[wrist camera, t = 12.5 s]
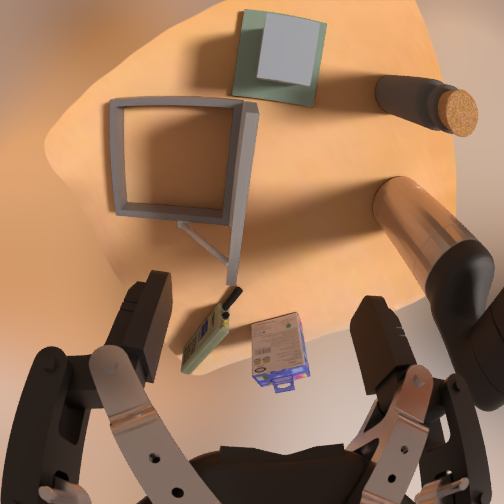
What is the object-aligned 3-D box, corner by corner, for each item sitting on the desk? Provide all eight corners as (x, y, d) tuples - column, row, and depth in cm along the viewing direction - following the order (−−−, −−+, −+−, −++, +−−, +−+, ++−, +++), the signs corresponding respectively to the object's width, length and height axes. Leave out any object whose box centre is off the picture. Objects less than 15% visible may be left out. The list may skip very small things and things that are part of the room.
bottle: (403, 120, 30) (471, 152, 18) (369, 105, 30) (433, 127, 17) (414, 86, 27) (487, 103, 15) (380, 68, 26) (450, 72, 14)
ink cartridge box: (259, 338, 57) (260, 398, 45) (249, 323, 54) (249, 387, 42) (303, 327, 55) (313, 388, 43) (297, 311, 52) (307, 375, 40)
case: (118, 97, 29) (52, 116, 17) (255, 101, 30) (259, 113, 18) (122, 214, 39) (80, 273, 27) (239, 225, 41) (234, 294, 29)
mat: (325, 24, 23) (327, 23, 23) (311, 107, 30) (312, 107, 30) (244, 10, 23) (244, 9, 22) (232, 95, 30) (231, 95, 29)
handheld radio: (181, 347, 60) (231, 280, 47) (194, 351, 61) (247, 287, 48) (178, 371, 54) (230, 309, 42) (192, 375, 56) (248, 316, 43)
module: (304, 35, 24) (320, 22, 18) (296, 85, 28) (310, 86, 22) (263, 28, 24) (266, 12, 17) (255, 78, 28) (257, 77, 21)
